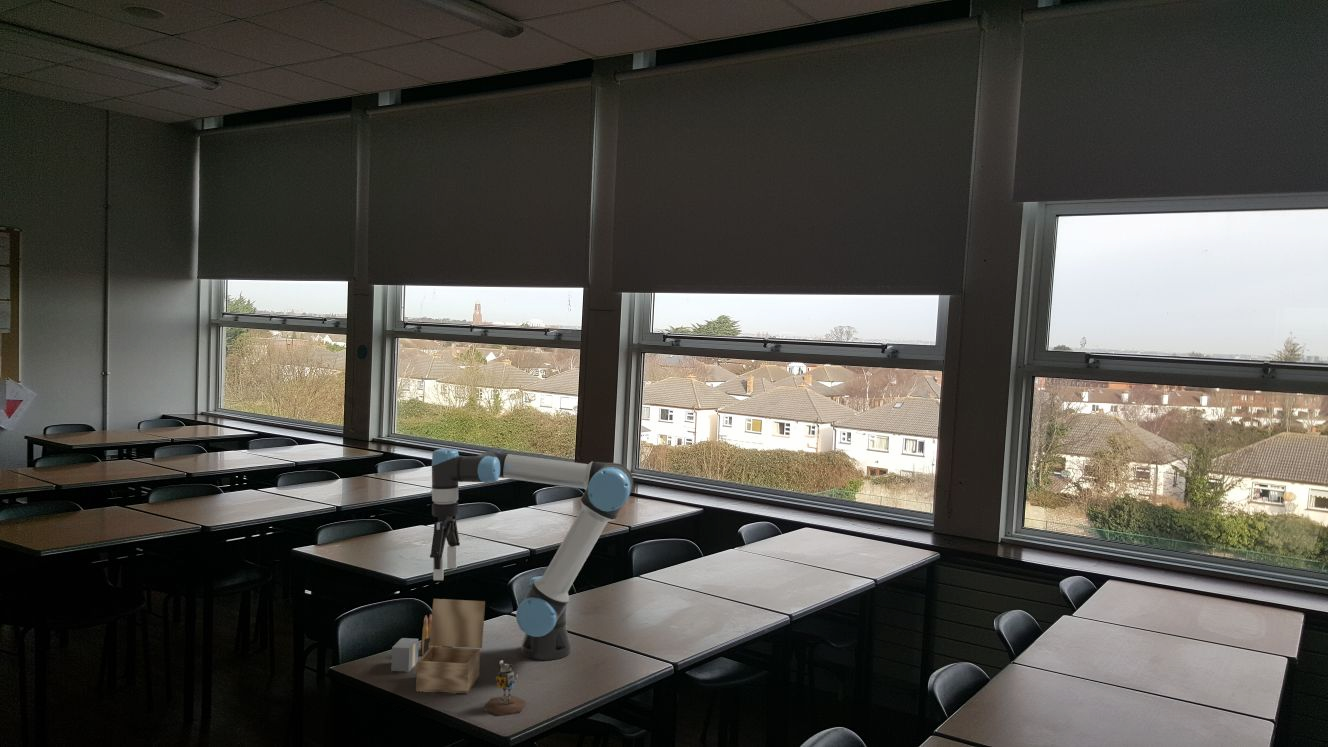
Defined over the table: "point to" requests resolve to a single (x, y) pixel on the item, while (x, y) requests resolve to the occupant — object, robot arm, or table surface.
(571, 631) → the table surface
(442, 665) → the crate
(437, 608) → the lid
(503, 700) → the robot figurine
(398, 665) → the grey taped box
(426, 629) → the ammunition clip
